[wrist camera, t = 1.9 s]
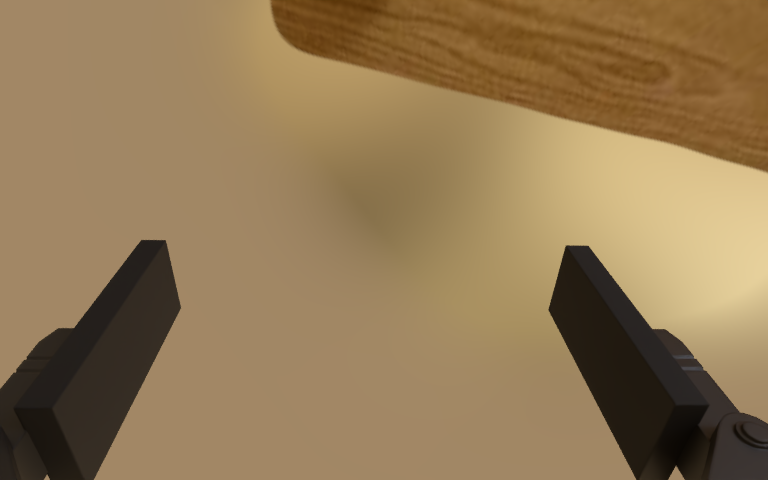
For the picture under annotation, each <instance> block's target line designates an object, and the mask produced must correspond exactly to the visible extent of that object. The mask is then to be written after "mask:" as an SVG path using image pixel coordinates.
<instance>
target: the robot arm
mask: <svg viewBox="0 0 768 480" xmlns="http://www.w3.org/2000/svg"><path fill="white" fill-rule="evenodd" d="M180 309H181V306H180V301H179V297H178V292H177V288H176V284H175V279H174V275H173V270H172V266H171V261H170V257H169V252H168V248H167V244H166V241H165V240H141V241H140V243H139V244H138V245H137V246H136V248H135V249H134V250H133V252H132V253H131V254H130V256H129V257H128V258H127V260H126V261H125V262H124V263H123V265H122V266H121V267H120V269H119V270H118V271H117V273H116V274H115V275H114V277H113V278H112V279H111V280H110V282H109V283H108V284H107V286H106V287H105V288H104V290H103V291H102V292H101V294H100V295H99V296H98V298H97V299H96V300H95V301H94V303H93V304H92V306H91V307H90V308H89V309H88V311H87V312H86V313H85V315H84V316H83V317H82V318H81V320H80V321H79V322H78V324H77V325H76V326H75V328H58V329H57V330H55V331H54V332H52V333H51V334H50V335H48V336H47V337H45V338H44V339H42V340H41V341H40V342H39V343H38V344H37V345H36V346H35V348H34V349H33V350H32V351H31V353H30V354H29V355H28V356H27V359H26V360H24V361H23V362H22V364H21V365H20V366H19V367H18V368H17V371H16V373H13V374H12V375H11V377H10V378H9V379H8V380H7V381H6V383H5V384H4V385H3V386H2V388H1V389H0V480H44V478H45V477H46V475H48V476H49V478H50V480H94V478H95V476H96V474H97V472H98V470H99V468H100V466H101V464H102V462H103V460H104V458H105V457H106V455H107V453H108V451H109V449H110V447H111V445H112V443H113V441H114V439H115V437H116V435H117V433H118V431H119V429H120V427H121V425H122V423H123V421H124V419H125V417H126V415H127V413H128V411H129V409H130V407H131V405H132V403H133V401H134V399H135V397H136V396H137V394H138V391H139V390H140V388H141V386H142V384H143V382H144V380H145V378H146V376H147V374H148V372H149V370H150V368H151V366H152V364H153V362H154V360H155V358H156V356H157V354H158V352H159V350H160V348H161V346H162V344H163V342H164V340H165V338H166V336H167V334H168V332H169V331H170V328H171V327H172V325H173V323H174V321H175V319H176V317H177V315H178V313H179V311H180ZM549 312H550V314H551V316H552V317H553V320H554V322H555V324H556V325H557V327H558V329H559V331H560V333H561V335H562V337H563V339H564V341H565V343H566V345H567V347H568V349H569V351H570V352H571V354H572V356H573V358H574V360H575V362H576V364H577V366H578V368H579V370H580V372H581V374H582V376H583V378H584V379H585V381H586V383H587V385H588V387H589V389H590V391H591V393H592V395H593V397H594V399H595V401H596V403H597V405H598V406H599V408H600V410H601V412H602V414H603V416H604V418H605V420H606V422H607V424H608V426H609V428H610V430H611V432H612V433H613V435H614V437H615V439H616V441H617V443H618V445H619V447H620V449H621V450H622V453H623V455H624V457H625V459H626V461H627V462H628V464H629V466H630V468H631V470H632V472H633V474H634V476H635V478H636V480H668V479H669V477H670V475H671V473H672V472H673V470H674V468H675V466H677V467H678V469H679V471H680V472H681V474H682V475H683V477H684V479H685V480H768V424H767V423H766V422H764V421H762V420H760V419H758V418H757V417H754V416H751V415H748V414H745V413H740V412H739V411H738V409H736V407H735V406H734V405H733V403H732V402H731V401H730V400H729V399H728V397H727V396H726V395H725V394H724V392H723V391H722V390H721V389H720V387H719V386H718V385H717V384H716V383H715V381H714V380H713V379H712V378H711V376H710V375H709V374H708V373H707V372H706V371H704V370H703V367H702V365H701V364H700V363H699V362H698V361H697V359H694V356H693V355H692V353H691V352H690V351H689V350H688V348H687V347H686V346H685V345H684V344H683V342H681V341H680V340H679V339H678V338H676V337H675V336H673V335H672V334H671V333H669V332H668V331H667V330H665V329H652V328H651V327H650V326H649V324H648V323H647V322H646V321H645V319H644V318H643V317H642V315H641V314H640V313H639V311H637V309H636V308H635V306H634V305H633V304H632V302H631V301H630V300H629V298H628V297H627V296H626V295H625V293H624V292H623V291H622V289H621V288H620V287H619V285H618V284H617V283H616V281H615V280H614V279H613V278H612V276H611V275H610V274H609V272H608V271H607V270H606V268H605V267H604V266H603V264H602V263H601V262H600V261H599V259H598V258H597V257H596V255H595V254H594V253H593V251H592V250H591V249H590V248H589V246H566V247H565V251H564V254H563V258H562V262H561V266H560V269H559V273H558V277H557V280H556V284H555V288H554V291H553V295H552V299H551V303H550V306H549Z"/></svg>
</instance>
